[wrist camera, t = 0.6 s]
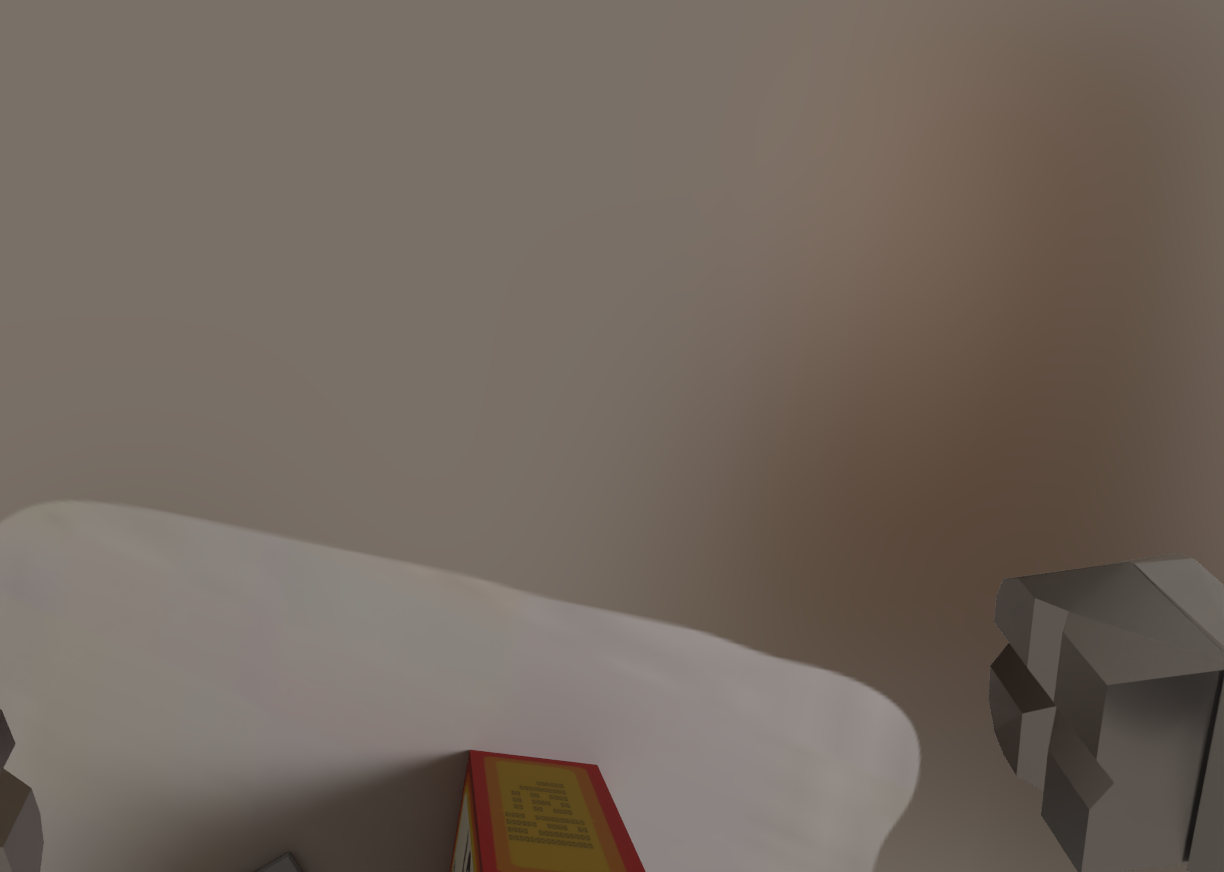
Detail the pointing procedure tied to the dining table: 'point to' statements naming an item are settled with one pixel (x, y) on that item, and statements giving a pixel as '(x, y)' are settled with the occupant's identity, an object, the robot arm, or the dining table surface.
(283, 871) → the mat
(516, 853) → the baking soda box
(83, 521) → the dining table surface
